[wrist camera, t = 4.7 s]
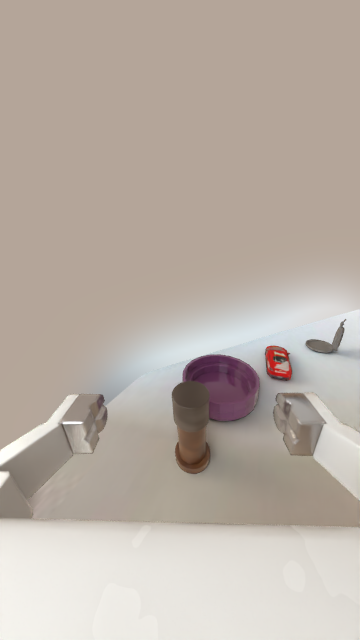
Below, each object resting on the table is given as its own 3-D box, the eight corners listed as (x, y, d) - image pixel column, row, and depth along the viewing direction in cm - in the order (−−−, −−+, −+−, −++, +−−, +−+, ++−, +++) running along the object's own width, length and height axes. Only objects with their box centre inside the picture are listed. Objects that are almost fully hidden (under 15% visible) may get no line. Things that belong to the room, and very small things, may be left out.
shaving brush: (207, 438, 31) (208, 379, 27) (211, 473, 26) (213, 409, 22) (176, 438, 31) (171, 380, 27) (174, 473, 27) (168, 410, 22)
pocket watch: (301, 341, 58) (308, 311, 55) (333, 343, 56) (343, 312, 53) (312, 356, 51) (321, 322, 47) (348, 359, 49) (361, 323, 45)
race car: (264, 350, 55) (266, 338, 53) (285, 353, 53) (288, 341, 51) (264, 379, 44) (267, 364, 42) (291, 384, 42) (295, 369, 40)
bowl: (244, 369, 47) (246, 353, 46) (269, 423, 33) (272, 403, 31) (184, 370, 48) (183, 355, 46) (182, 423, 34) (181, 404, 32)
